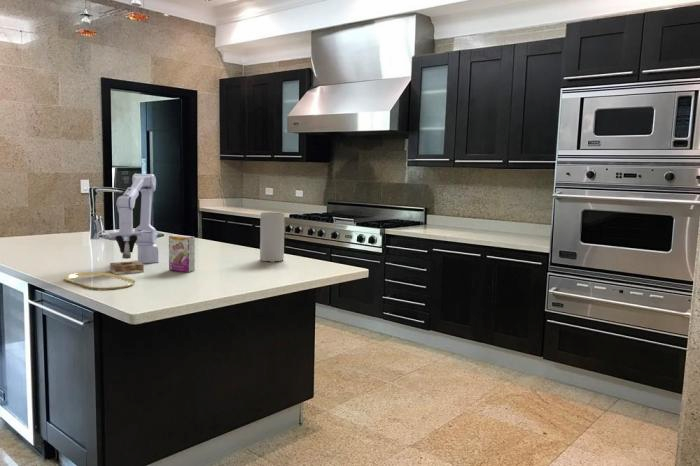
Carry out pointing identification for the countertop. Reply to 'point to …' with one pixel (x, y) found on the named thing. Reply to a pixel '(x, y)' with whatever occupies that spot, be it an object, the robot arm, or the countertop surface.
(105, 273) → the yellow rubber band
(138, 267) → the socket block
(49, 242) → the countertop surface
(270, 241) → the cylinder vase
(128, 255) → the pin
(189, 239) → the candy bar box
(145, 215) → the robot arm
